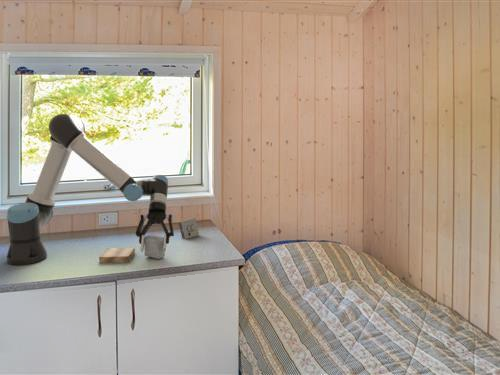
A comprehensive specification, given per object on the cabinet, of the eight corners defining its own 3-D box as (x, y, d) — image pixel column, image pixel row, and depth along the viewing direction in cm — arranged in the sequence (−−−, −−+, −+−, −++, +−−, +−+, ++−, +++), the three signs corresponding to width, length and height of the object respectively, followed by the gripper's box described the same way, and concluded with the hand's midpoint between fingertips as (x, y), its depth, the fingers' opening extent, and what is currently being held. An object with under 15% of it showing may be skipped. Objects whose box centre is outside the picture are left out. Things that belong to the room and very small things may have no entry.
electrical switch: (185, 239, 206) (184, 221, 205) (178, 238, 209) (177, 220, 208) (199, 235, 213) (197, 217, 212) (192, 235, 216) (190, 217, 216)
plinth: (99, 262, 172) (99, 257, 172) (107, 253, 184) (106, 248, 184) (128, 262, 173) (128, 256, 173) (134, 253, 185) (134, 247, 184)
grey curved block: (165, 256, 178) (164, 237, 177) (157, 259, 175) (157, 239, 173) (152, 253, 183) (151, 234, 181) (144, 256, 179) (143, 236, 178)
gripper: (182, 209, 192) (179, 253, 179) (135, 210, 190) (128, 254, 177) (181, 200, 186) (178, 245, 173) (132, 200, 184) (125, 246, 171)
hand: (153, 250), depth 175 cm, fingers closed on grey curved block, 9 cm apart
